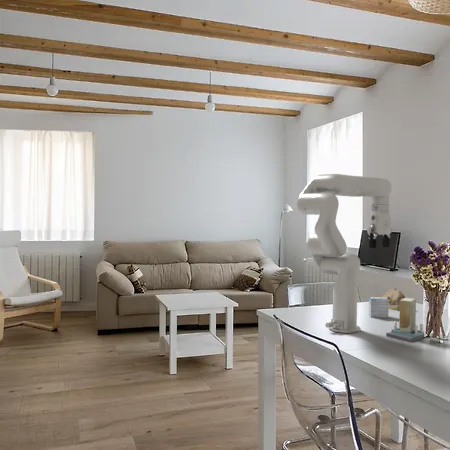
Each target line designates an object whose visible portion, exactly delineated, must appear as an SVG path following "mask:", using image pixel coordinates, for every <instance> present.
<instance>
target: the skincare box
mask: <svg viewBox="0 0 450 450" xmlns="http://www.w3.org/2000/svg"><path fill="white" fill-rule="evenodd" d="M416 309H417V299H416V298H411V297H410V298H409V297H406V298H403V299H401V300H400V310H399V320H400V323H398V326H399V327H398V328H399V331H403V332H409V333H411V332H412V331H414V330H415V325H417V324H416V322H417V321H416V320H417V318H416V315H417V310H416Z"/></svg>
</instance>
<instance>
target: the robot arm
mask: <svg viewBox="0 0 450 450" xmlns="http://www.w3.org/2000/svg"><path fill="white" fill-rule="evenodd" d="M392 189H393V188H392V184H391V182H390V180H388V179H387V178H384V177H370V176H360V175H359V176H358V175H351V174H350V175H348V174H341V173H327V174H318V175H316V176H314V177H313V178H312V179H311V180H310V181H309V182H308V183H307V185H306V186H305V187H304V189H303V190H302V192H300V194H299V196H298V197H297V201H296V207H297V210H298V212H299V213H301V214H303V215H310V216H311V215H315V216H317V215H318V219H317V221H316V223H315V225H314V233H312V234H311V235H310V236H309V237H308V239H307V242H306V243H307V244H306V245H307V247H306V248H307V250H308V251H307V252H308V253H309V255H310V256H311V258H312V260H313V262H314V263H315V265H316V266H317V268H318V269H319V270H320V271H321V272H322V273H324V274H330V275H335V276H337V278H336V279H335V281H333V282H334V283H333V287H332V318H331V319H330V320H331V321H328V322H326V323H325V327H326V328H328V330H330V331H332V332H335V333H342V334H355V333H356V334H357V333H359V332H360V331H361V330H362V329H361V327H360V326H359V325H357V324H358V321H357V320H358V319H357V318H358V317H357V316H358V279H359V273H360V268H361V260H360V257H359V256H358V255H357V254H355V253H353V252H348V247H347V246H348V245H347V243H346V240H345V238H344V237H343V236H342V233H341V232H340V230H339V228H338V226H337V222H336V221H337V214H338V209H339V198H338V196H339V197H340V196H341V197H349V198H350V197H351V198H353V197H356V198H359V197H360V198H361V197H364V198H371V206H370V209H371V210H370V211H371V212H370V217H369V226H368V227H367V228H366V232H367V236H368V239H369V242H368V243H369V246H368V247H369V248H370V249H377V240H378V239H377V236H378V235H379V236H381V235H382V237H383V238H382V247H383V248H390V243H391V242H390V239H391V236H392V233H393V228H392V219H391V213H390V194H391V192H392Z"/></svg>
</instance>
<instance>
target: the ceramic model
mask: <svg viewBox="0 0 450 450" xmlns="http://www.w3.org/2000/svg"><path fill="white" fill-rule="evenodd" d="M382 297H385V298H387V299H388V300H389V305H388V310H392V311H400V300H401V299H403V298H407V296H406V295H405V293H403V292H402V291H401V290H399V289H398V288H396V287H393V288H389V289H388V290H387V291H386V292H385V293H384V295H383V296H382Z"/></svg>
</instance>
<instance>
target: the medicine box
mask: <svg viewBox="0 0 450 450" xmlns="http://www.w3.org/2000/svg"><path fill="white" fill-rule="evenodd" d="M368 299H369V300H368V315H369V317H370V318H382V319H384V318H385V319H389V309H388V305H389V300H388V299H387V298H385V297H383V296H382V297H380V296H379V297H377V296H376V297H375V296H372V297H371V296H370V297H368Z"/></svg>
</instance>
